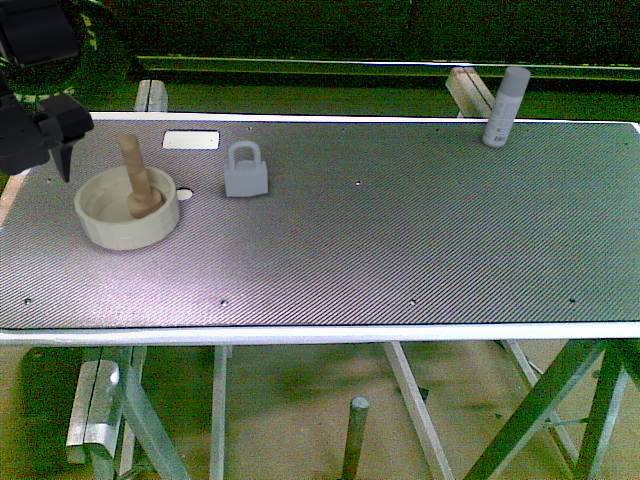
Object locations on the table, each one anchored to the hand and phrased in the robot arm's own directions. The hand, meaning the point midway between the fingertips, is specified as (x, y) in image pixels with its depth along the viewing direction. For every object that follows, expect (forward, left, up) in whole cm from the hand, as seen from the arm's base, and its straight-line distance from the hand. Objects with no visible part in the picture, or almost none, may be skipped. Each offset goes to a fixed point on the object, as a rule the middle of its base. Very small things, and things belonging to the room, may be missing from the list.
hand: (29, 196), depth 59 cm
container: (+82, +1, -13) cm, 83 cm away
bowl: (+11, +6, -13) cm, 18 cm away
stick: (+13, +7, -12) cm, 20 cm away
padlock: (+30, +6, -13) cm, 33 cm away
